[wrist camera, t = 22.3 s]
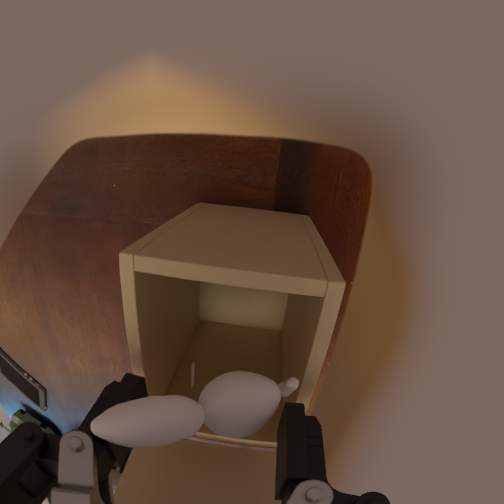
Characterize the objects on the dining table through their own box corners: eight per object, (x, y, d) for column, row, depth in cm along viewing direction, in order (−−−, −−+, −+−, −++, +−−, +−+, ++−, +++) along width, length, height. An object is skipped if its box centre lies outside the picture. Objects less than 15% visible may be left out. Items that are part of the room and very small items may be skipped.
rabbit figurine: (284, 419, 13) (134, 459, 10) (258, 354, 15) (114, 387, 12) (337, 404, 8) (100, 470, 6) (294, 307, 10) (74, 354, 8)
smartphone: (46, 389, 34) (44, 392, 33) (47, 410, 36) (45, 412, 35) (-11, 337, 32) (-13, 339, 32) (-7, 362, 35) (-9, 364, 34)
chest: (198, 202, 23) (118, 252, 10) (309, 215, 22) (346, 282, 10) (193, 320, 26) (144, 425, 14) (287, 333, 26) (291, 449, 14)
